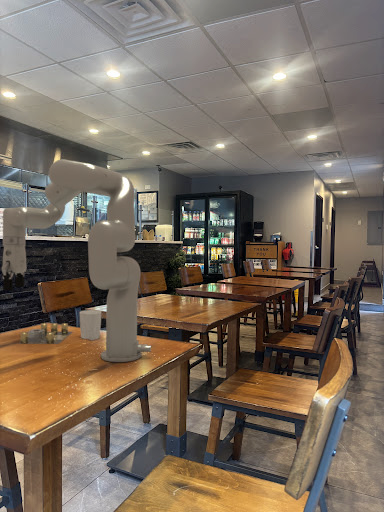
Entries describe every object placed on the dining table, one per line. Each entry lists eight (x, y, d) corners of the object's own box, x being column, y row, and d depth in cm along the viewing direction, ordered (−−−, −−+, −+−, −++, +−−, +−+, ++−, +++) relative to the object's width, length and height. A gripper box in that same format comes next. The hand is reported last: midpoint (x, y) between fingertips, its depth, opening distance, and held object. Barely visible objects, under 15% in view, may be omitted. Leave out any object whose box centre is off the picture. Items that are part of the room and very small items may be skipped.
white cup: (98, 341, 135) (98, 314, 135) (76, 340, 135) (76, 313, 135) (103, 336, 143) (103, 310, 143) (83, 335, 143) (83, 309, 143)
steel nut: (46, 335, 140) (46, 328, 140) (40, 339, 134) (40, 332, 134) (32, 335, 140) (32, 328, 140) (26, 339, 134) (26, 332, 134)
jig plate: (73, 333, 147) (73, 323, 146) (59, 345, 129) (59, 333, 128) (37, 333, 146) (37, 322, 146) (18, 345, 128) (18, 333, 128)
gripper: (14, 242, 127) (14, 291, 127) (33, 242, 144) (33, 286, 145) (-8, 241, 127) (-8, 291, 127) (13, 242, 144) (13, 285, 144)
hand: (13, 288), depth 136 cm, fingers open, 9 cm apart
